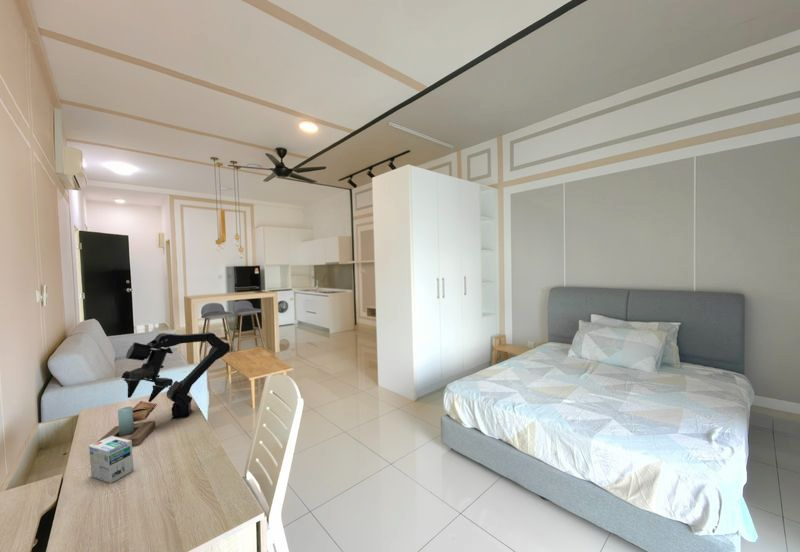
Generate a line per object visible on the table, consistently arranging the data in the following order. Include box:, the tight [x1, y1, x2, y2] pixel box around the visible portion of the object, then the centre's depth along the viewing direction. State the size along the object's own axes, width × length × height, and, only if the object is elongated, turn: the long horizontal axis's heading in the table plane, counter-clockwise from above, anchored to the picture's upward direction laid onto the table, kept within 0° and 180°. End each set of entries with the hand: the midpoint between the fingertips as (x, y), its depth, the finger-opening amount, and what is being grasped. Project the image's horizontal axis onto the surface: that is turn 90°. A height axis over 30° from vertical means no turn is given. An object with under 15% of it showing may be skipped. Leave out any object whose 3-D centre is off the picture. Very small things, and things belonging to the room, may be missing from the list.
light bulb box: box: [88, 436, 134, 484], centre depth 103 cm, size 11×7×11 cm, turn 71°
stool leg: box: [117, 406, 135, 437], centre depth 123 cm, size 4×4×12 cm
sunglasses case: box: [133, 400, 158, 423], centre depth 146 cm, size 18×7×7 cm
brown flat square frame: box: [96, 420, 156, 448], centre depth 124 cm, size 14×14×3 cm
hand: (139, 399), depth 130 cm, fingers open, 9 cm apart
